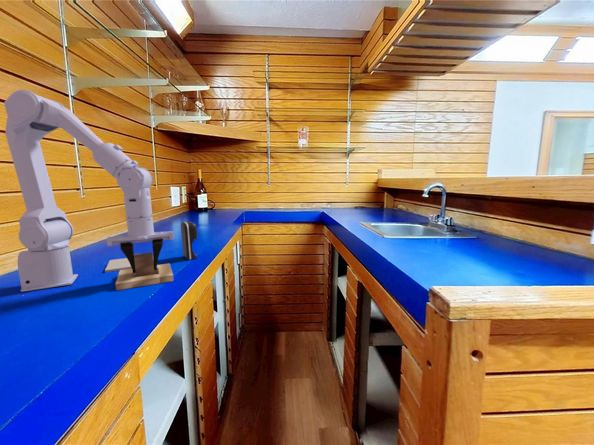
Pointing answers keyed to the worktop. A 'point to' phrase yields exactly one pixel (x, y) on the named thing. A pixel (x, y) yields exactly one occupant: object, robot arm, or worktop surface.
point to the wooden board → (144, 277)
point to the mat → (118, 265)
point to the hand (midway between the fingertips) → (145, 270)
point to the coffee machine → (188, 238)
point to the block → (144, 264)
